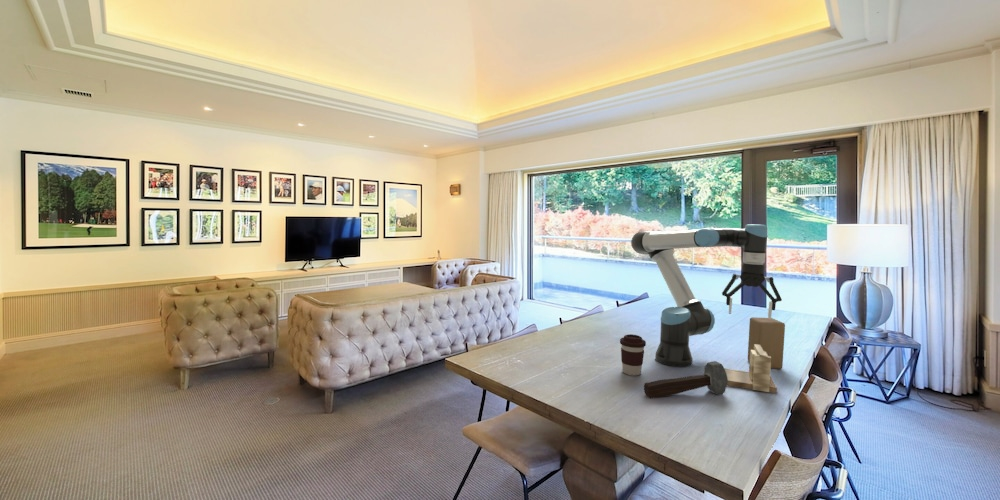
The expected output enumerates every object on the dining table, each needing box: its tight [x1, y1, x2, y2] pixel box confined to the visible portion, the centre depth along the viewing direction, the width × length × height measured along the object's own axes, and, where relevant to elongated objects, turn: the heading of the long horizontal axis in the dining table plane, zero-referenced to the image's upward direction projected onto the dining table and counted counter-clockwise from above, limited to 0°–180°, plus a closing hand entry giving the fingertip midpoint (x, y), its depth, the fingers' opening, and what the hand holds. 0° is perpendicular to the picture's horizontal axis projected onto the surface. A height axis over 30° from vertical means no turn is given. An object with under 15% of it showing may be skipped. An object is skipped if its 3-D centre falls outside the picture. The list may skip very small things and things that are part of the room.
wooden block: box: [747, 316, 786, 370], centre depth 175 cm, size 10×10×20 cm
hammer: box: [643, 360, 728, 399], centre depth 144 cm, size 5×11×30 cm
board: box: [724, 367, 778, 394], centre depth 156 cm, size 20×14×2 cm
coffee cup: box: [619, 333, 647, 377], centre depth 164 cm, size 10×10×15 cm
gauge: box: [748, 344, 772, 393], centre depth 153 cm, size 5×14×13 cm, turn 155°
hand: (749, 315), depth 162 cm, fingers open, 13 cm apart
